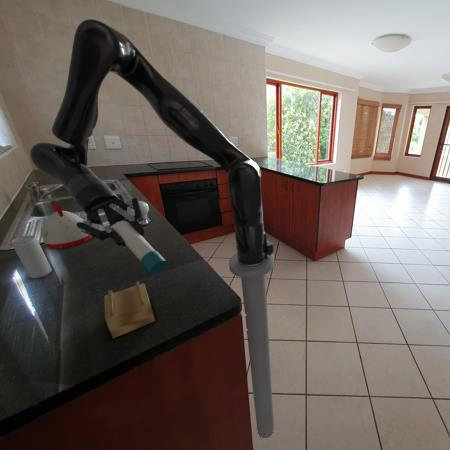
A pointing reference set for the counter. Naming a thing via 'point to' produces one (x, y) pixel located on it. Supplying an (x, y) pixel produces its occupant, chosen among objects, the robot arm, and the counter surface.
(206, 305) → the counter surface
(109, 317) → the cradle
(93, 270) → the counter surface
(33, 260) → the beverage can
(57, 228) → the kitchen timer
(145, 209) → the lightbulb
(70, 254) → the counter surface
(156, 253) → the marker
